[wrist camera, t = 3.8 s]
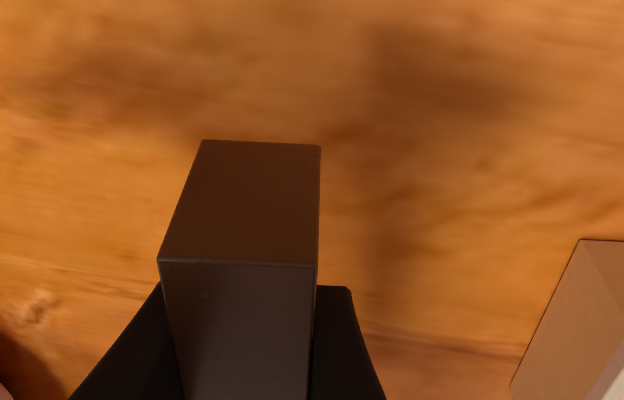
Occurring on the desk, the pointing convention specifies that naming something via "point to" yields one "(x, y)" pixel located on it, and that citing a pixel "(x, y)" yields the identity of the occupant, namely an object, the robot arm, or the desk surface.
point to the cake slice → (580, 332)
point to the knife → (244, 271)
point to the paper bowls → (4, 393)
